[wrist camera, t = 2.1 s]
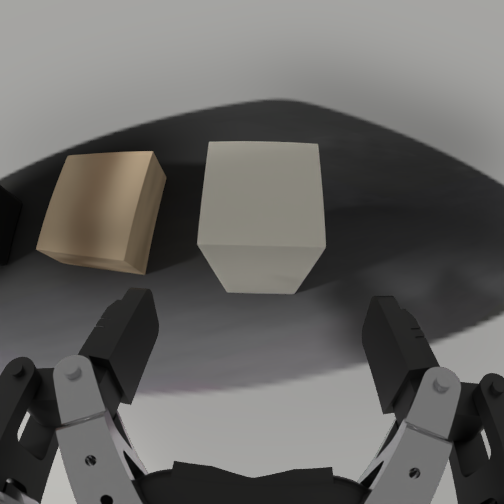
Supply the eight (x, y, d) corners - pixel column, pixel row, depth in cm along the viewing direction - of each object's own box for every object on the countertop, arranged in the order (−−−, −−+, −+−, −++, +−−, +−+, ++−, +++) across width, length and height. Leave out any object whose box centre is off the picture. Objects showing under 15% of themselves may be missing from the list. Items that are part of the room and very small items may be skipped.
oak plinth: (64, 264, 21) (35, 249, 17) (88, 179, 23) (67, 155, 20) (146, 275, 21) (123, 260, 17) (167, 179, 23) (153, 151, 19)
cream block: (227, 292, 20) (197, 244, 10) (230, 229, 21) (209, 141, 12) (294, 294, 20) (326, 247, 10) (293, 231, 21) (317, 143, 12)
